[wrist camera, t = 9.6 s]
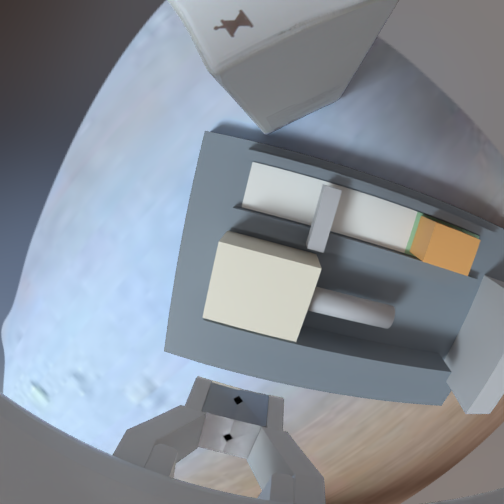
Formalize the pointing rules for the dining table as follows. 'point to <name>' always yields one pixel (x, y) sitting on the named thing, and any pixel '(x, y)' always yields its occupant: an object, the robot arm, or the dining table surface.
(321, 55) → the skincare box
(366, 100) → the dining table surface
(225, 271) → the cream block with rods
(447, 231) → the orange rectangular block
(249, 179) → the base
